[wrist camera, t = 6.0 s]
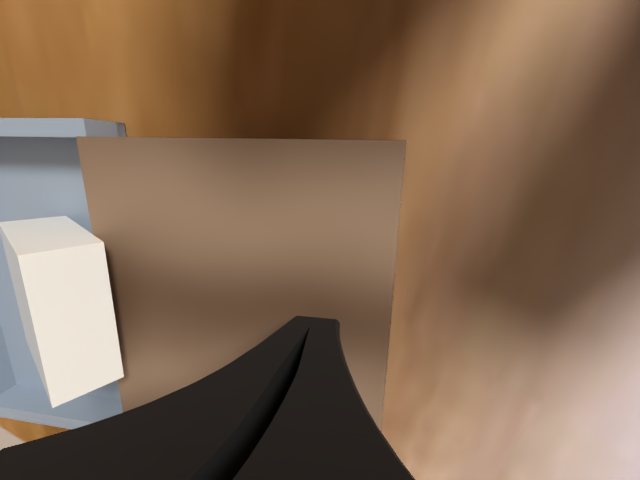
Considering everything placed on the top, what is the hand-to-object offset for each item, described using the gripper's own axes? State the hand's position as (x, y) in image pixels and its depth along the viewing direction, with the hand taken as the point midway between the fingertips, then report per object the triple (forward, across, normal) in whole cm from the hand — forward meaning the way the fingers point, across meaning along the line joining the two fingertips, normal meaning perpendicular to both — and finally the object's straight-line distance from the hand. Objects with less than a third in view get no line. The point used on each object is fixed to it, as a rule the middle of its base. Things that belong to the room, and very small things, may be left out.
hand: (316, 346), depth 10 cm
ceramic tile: (+1, +9, 0) cm, 9 cm away
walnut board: (+3, +3, 0) cm, 4 cm away
